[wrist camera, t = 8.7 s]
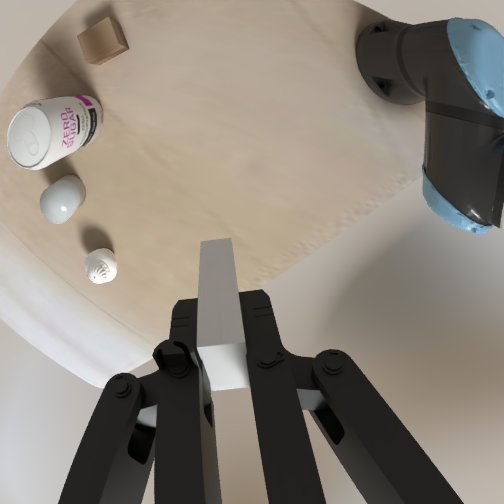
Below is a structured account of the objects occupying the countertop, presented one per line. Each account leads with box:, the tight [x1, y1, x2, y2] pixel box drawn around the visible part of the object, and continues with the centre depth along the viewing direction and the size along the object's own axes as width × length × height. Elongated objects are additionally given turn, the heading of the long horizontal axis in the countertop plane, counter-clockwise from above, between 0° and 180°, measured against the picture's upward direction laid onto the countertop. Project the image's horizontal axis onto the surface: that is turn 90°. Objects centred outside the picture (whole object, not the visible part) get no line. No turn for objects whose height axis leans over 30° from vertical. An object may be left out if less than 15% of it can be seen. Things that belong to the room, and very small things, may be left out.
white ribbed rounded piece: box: [85, 248, 117, 284], centre depth 43 cm, size 6×6×7 cm
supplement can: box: [7, 95, 103, 170], centre depth 27 cm, size 8×8×15 cm
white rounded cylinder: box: [40, 175, 86, 224], centre depth 36 cm, size 6×6×6 cm
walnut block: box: [77, 17, 129, 65], centre depth 26 cm, size 5×5×5 cm
